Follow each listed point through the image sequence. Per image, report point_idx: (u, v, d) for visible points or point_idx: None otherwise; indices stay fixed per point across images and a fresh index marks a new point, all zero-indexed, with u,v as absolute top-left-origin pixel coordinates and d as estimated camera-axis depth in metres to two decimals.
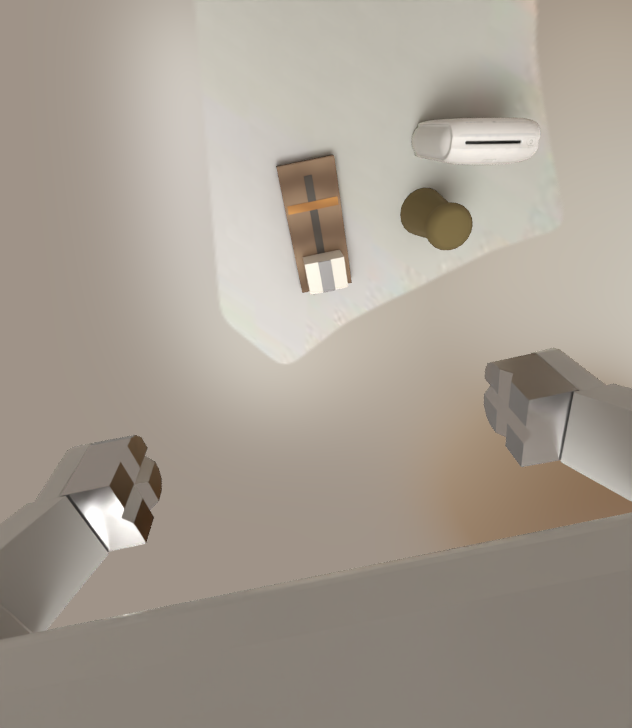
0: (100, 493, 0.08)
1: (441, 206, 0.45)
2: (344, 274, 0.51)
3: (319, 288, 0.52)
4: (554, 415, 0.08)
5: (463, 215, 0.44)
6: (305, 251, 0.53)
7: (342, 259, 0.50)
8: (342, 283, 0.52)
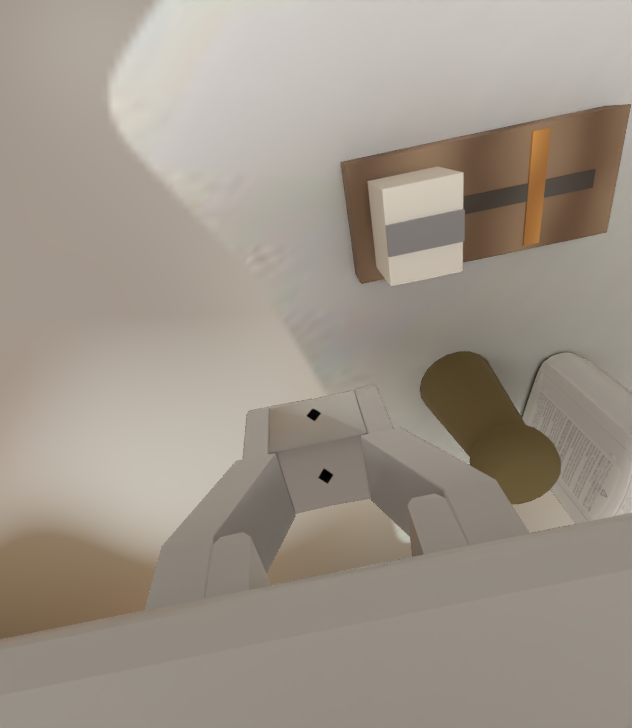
0: (307, 450, 0.08)
1: None
2: (421, 275, 0.22)
3: (395, 214, 0.20)
4: (349, 457, 0.08)
5: (547, 490, 0.25)
6: None
7: (457, 268, 0.22)
8: (400, 272, 0.22)
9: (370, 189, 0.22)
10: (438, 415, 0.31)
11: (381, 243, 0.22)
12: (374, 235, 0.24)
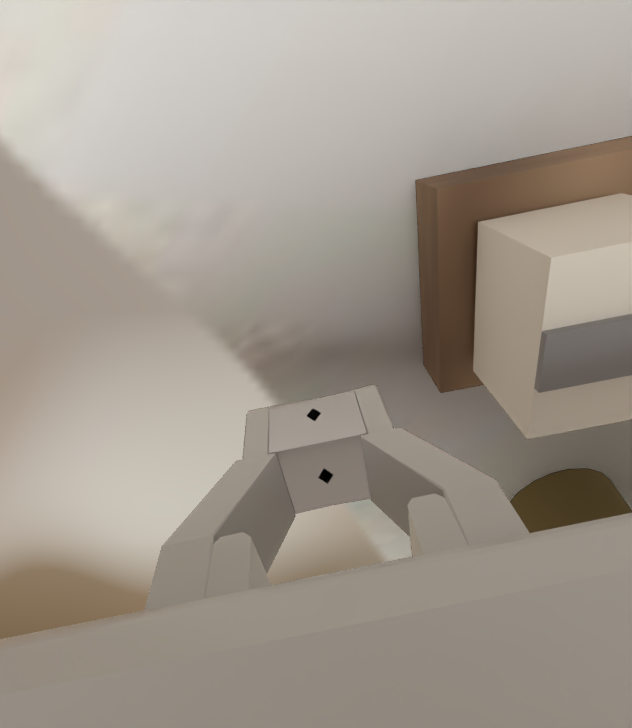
0: (307, 451, 0.08)
1: None
2: (594, 420, 0.11)
3: (569, 309, 0.09)
4: (349, 457, 0.08)
5: None
6: None
7: None
8: (553, 415, 0.10)
9: (487, 240, 0.11)
10: None
11: (508, 350, 0.11)
12: (480, 321, 0.12)
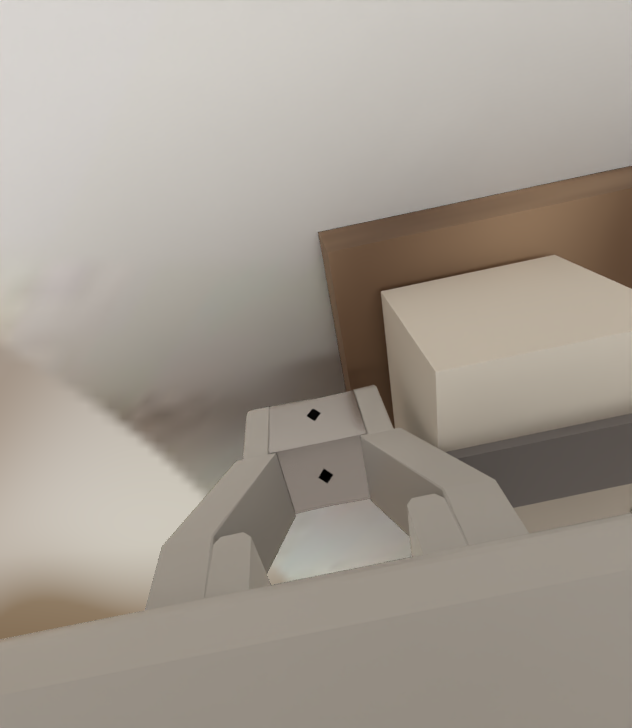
0: (308, 450, 0.08)
1: None
2: None
3: (470, 428, 0.07)
4: (348, 457, 0.08)
5: None
6: None
7: None
8: None
9: (389, 316, 0.09)
10: None
11: None
12: (395, 404, 0.10)
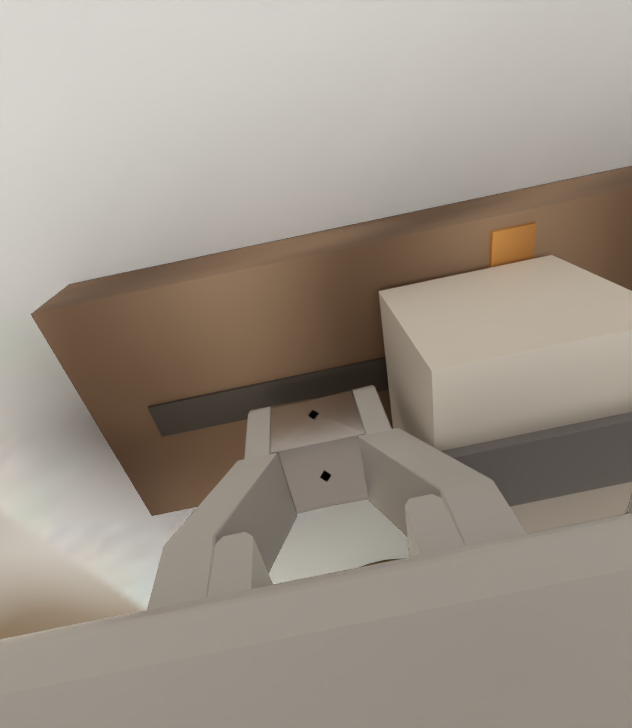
0: (309, 450, 0.08)
1: None
2: None
3: (467, 427, 0.07)
4: (347, 457, 0.08)
5: None
6: (284, 324, 0.10)
7: None
8: None
9: (387, 316, 0.09)
10: None
11: None
12: (393, 403, 0.10)
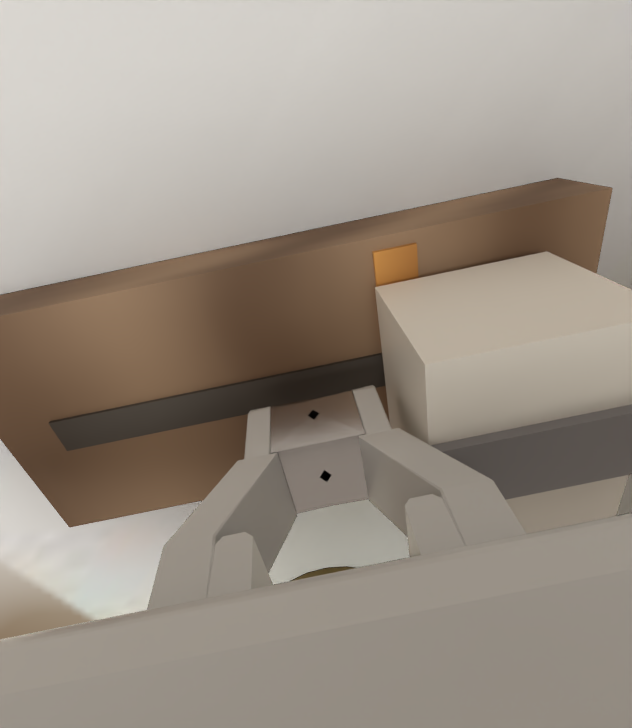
0: (309, 450, 0.08)
1: None
2: None
3: (460, 420, 0.07)
4: (347, 457, 0.08)
5: None
6: (176, 342, 0.10)
7: (603, 516, 0.09)
8: None
9: (382, 312, 0.09)
10: None
11: None
12: (390, 399, 0.10)
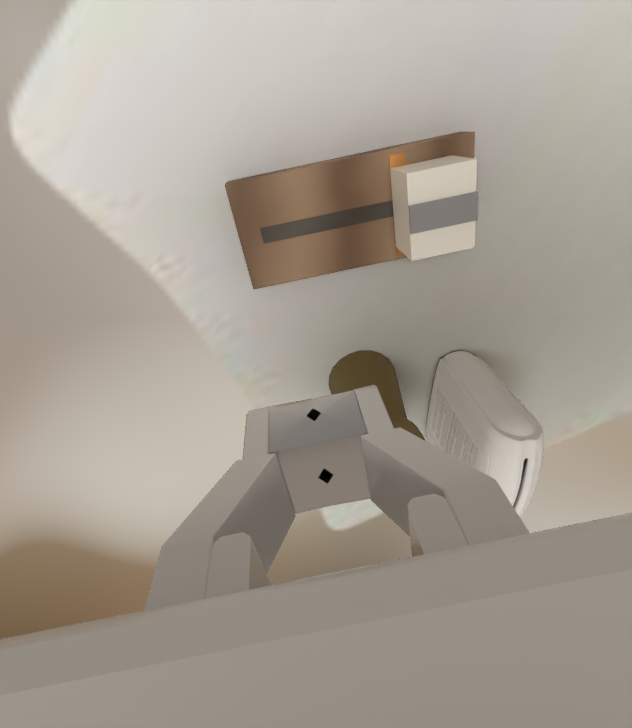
0: (307, 450, 0.08)
1: (422, 436, 0.28)
2: (439, 251, 0.25)
3: (417, 196, 0.23)
4: (349, 457, 0.08)
5: None
6: (314, 192, 0.26)
7: (470, 245, 0.25)
8: (420, 248, 0.25)
9: (393, 175, 0.25)
10: None
11: (403, 223, 0.25)
12: (395, 217, 0.27)
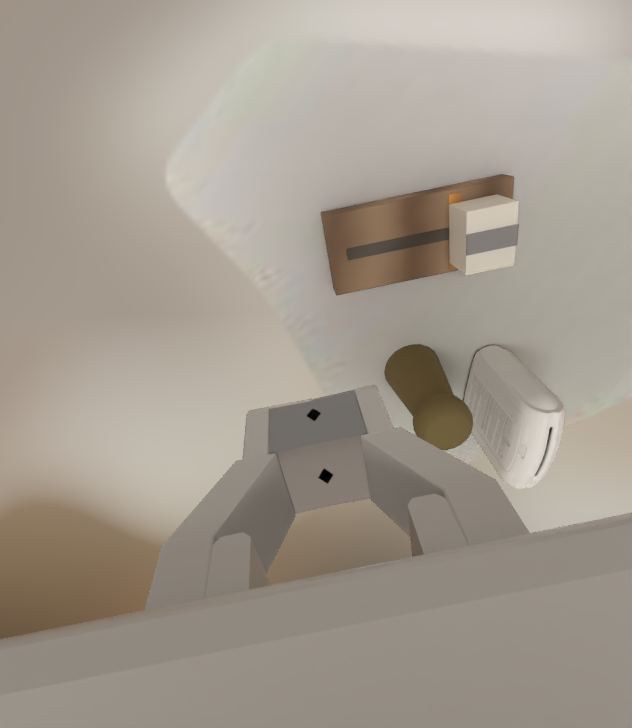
0: (307, 450, 0.08)
1: (469, 410, 0.36)
2: (487, 267, 0.33)
3: (473, 227, 0.31)
4: (349, 457, 0.08)
5: (464, 439, 0.35)
6: (389, 221, 0.34)
7: (510, 263, 0.33)
8: (473, 265, 0.32)
9: (452, 210, 0.33)
10: (396, 391, 0.42)
11: (459, 246, 0.33)
12: (451, 240, 0.34)
